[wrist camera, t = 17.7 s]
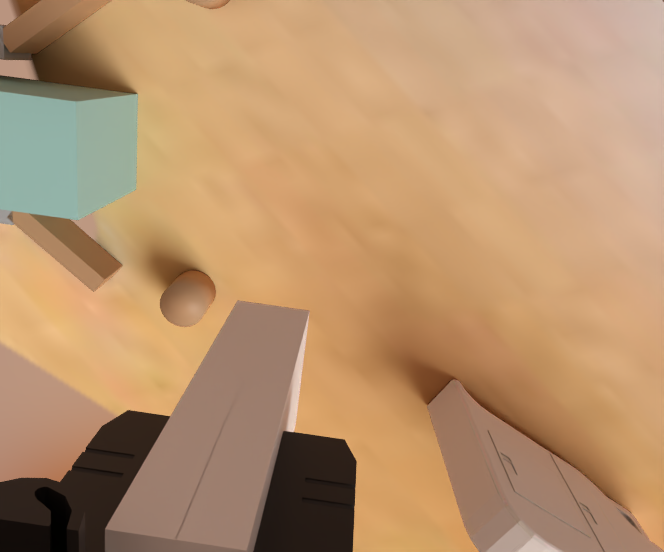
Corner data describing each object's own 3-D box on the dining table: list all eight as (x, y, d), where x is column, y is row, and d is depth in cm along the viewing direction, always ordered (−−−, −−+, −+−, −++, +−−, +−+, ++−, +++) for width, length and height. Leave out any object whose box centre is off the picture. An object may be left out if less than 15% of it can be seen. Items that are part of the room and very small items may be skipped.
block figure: (-76, -84, 29) (-114, -96, 27) (237, -43, 29) (225, -52, 27) (-45, 276, 35) (-74, 290, 33) (214, 312, 35) (203, 329, 33)
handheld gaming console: (594, 515, 40) (422, 407, 36) (626, 488, 39) (454, 374, 35) (693, 688, 30) (470, 565, 26) (738, 656, 29) (515, 524, 25)
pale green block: (-51, 68, 32) (-163, 69, 25) (138, 93, 31) (76, 101, 25) (-43, 164, 33) (-147, 189, 27) (136, 189, 33) (78, 220, 26)
